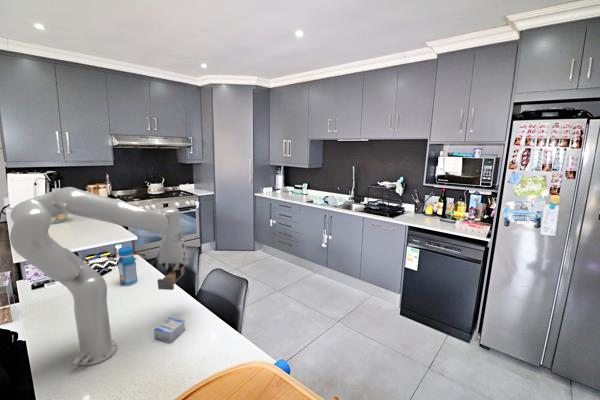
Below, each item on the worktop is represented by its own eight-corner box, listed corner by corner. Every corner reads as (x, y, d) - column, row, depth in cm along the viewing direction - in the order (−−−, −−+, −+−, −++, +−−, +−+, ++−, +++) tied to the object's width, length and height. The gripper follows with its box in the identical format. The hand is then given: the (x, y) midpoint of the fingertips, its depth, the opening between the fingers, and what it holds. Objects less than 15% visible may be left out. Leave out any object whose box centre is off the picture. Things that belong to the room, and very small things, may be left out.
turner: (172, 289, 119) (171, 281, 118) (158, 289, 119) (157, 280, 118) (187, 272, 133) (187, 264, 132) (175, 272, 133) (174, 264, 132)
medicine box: (184, 320, 120) (169, 333, 112) (185, 330, 121) (170, 343, 112) (169, 316, 122) (153, 329, 114) (169, 326, 123) (154, 339, 115)
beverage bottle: (132, 286, 156) (128, 251, 152) (116, 286, 156) (112, 251, 152) (140, 279, 164) (137, 246, 160) (126, 279, 164) (122, 245, 160)
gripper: (194, 234, 126) (196, 274, 130) (157, 233, 127) (160, 272, 130) (186, 240, 119) (189, 281, 122) (147, 239, 119) (151, 280, 123)
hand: (174, 276), depth 126 cm, fingers closed on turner, 3 cm apart
